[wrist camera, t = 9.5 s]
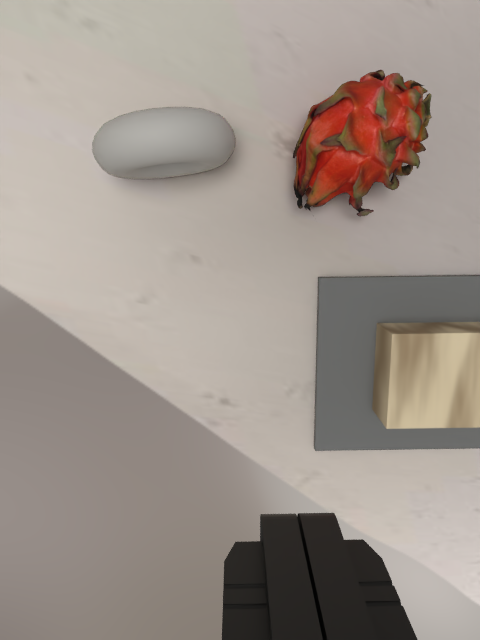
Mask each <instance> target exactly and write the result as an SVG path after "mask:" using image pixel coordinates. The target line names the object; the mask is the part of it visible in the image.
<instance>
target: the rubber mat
mask: <svg viewBox="0 0 480 640" xmlns="http://www.w3.org/2000/svg"><path fill="white" fill-rule="evenodd" d="M429 322H480V275H460V276H377V277H318V310H317V351H316V391H315V431H314V449H315V451H331V450H398V449H465V448H480V427H478V428H409V429H386V427H385V426H384V425H383V423H382V422H381V421H380V419H379V418H378V417H377V415H376V414H375V412H374V411H373V410H372V404H373V385H374V366H375V347H376V328H377V323H429Z"/></svg>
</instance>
